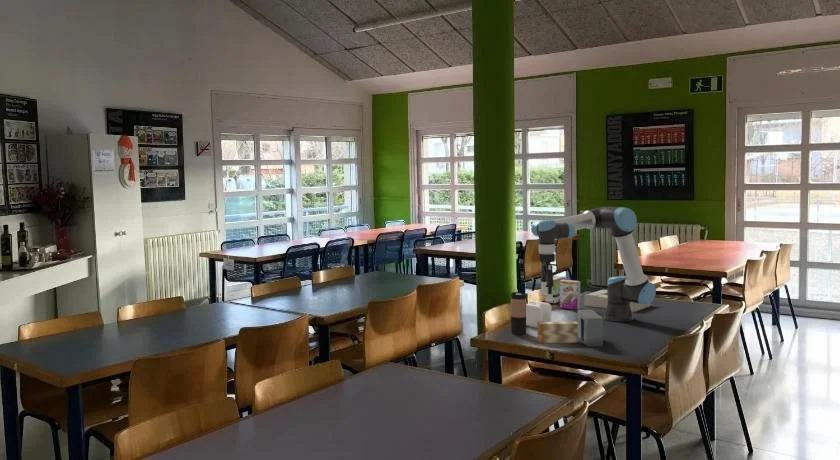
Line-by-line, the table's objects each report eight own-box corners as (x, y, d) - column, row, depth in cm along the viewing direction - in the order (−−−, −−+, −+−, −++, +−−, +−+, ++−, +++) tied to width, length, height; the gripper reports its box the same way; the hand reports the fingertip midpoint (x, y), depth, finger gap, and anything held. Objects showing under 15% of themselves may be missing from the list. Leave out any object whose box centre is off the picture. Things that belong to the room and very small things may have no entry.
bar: (575, 340, 328) (575, 321, 327) (577, 342, 324) (578, 323, 323) (537, 340, 328) (537, 321, 328) (539, 342, 324) (539, 323, 323)
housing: (592, 336, 336) (592, 309, 335) (602, 346, 316) (603, 318, 315) (577, 336, 336) (577, 309, 335) (587, 346, 316) (587, 318, 315)
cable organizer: (553, 326, 359) (553, 304, 358) (539, 329, 352) (539, 306, 351) (531, 321, 370) (531, 300, 369) (517, 324, 363) (517, 302, 362)
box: (651, 306, 409) (601, 300, 430) (651, 293, 408) (601, 288, 429) (635, 313, 391) (583, 306, 412) (635, 300, 391) (583, 293, 411)
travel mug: (509, 331, 348) (509, 292, 346) (524, 331, 348) (524, 291, 346) (512, 335, 340) (512, 294, 338) (528, 334, 341) (528, 294, 339)
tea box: (556, 303, 420) (556, 279, 418) (540, 302, 425) (540, 278, 424) (565, 299, 432) (565, 276, 431) (549, 298, 438) (549, 275, 436)
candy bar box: (558, 308, 405) (559, 280, 403) (562, 307, 409) (562, 279, 407) (577, 310, 399) (577, 282, 397) (580, 308, 403) (580, 280, 401)
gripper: (560, 256, 311) (560, 303, 313) (549, 250, 336) (549, 293, 337) (543, 256, 311) (543, 303, 313) (534, 250, 336) (534, 293, 337)
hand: (546, 298), depth 325 cm, fingers open, 13 cm apart
